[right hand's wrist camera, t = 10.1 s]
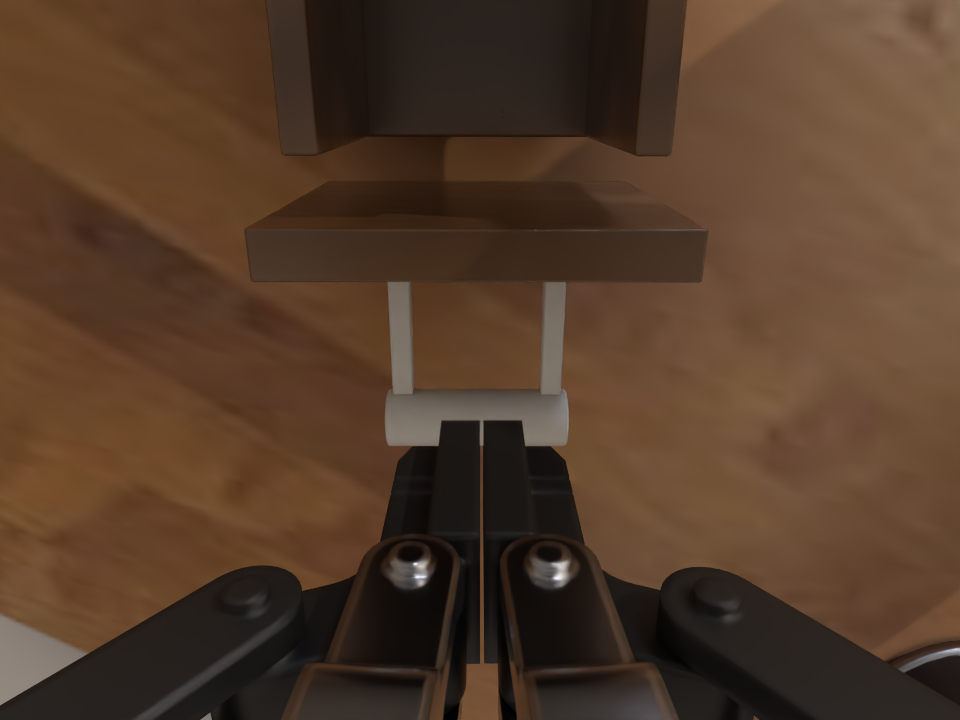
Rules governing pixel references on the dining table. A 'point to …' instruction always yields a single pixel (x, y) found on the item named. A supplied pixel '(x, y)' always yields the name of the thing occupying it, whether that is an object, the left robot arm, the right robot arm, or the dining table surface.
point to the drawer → (476, 205)
